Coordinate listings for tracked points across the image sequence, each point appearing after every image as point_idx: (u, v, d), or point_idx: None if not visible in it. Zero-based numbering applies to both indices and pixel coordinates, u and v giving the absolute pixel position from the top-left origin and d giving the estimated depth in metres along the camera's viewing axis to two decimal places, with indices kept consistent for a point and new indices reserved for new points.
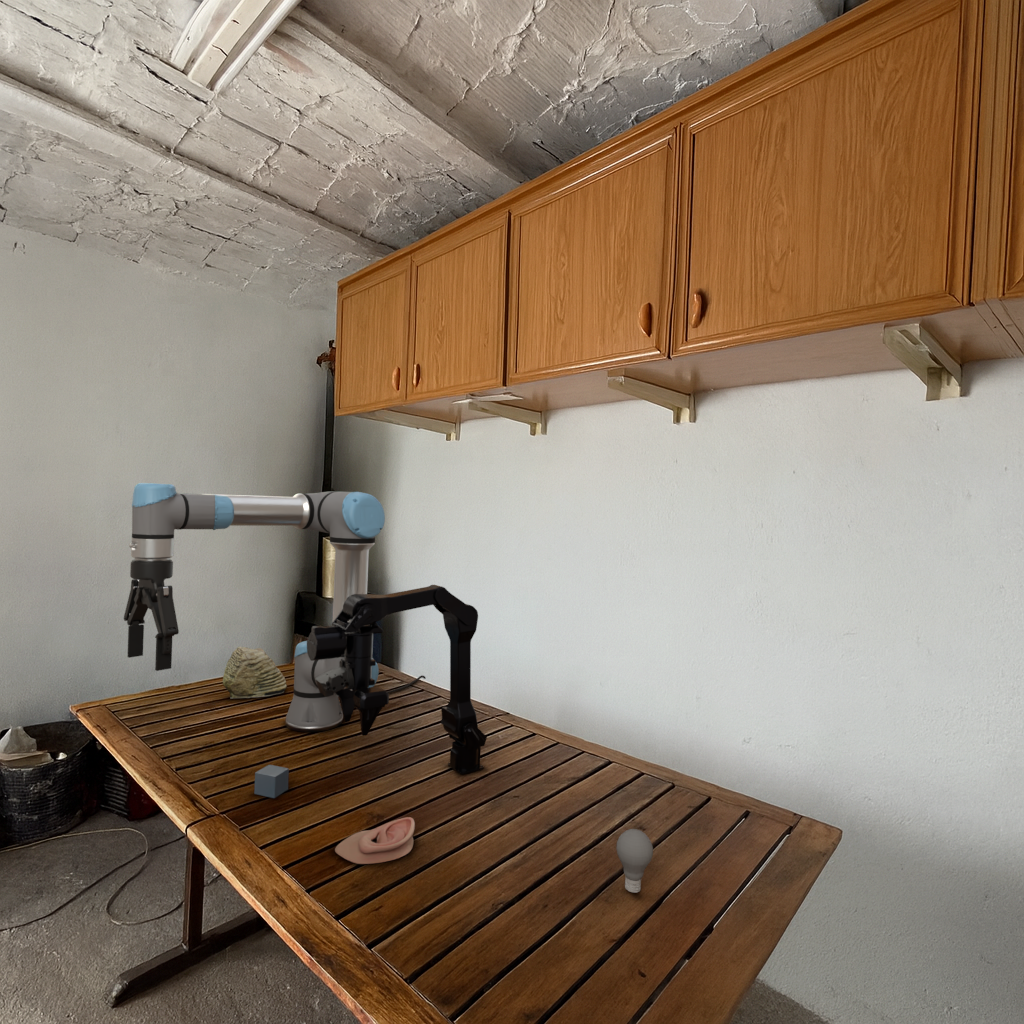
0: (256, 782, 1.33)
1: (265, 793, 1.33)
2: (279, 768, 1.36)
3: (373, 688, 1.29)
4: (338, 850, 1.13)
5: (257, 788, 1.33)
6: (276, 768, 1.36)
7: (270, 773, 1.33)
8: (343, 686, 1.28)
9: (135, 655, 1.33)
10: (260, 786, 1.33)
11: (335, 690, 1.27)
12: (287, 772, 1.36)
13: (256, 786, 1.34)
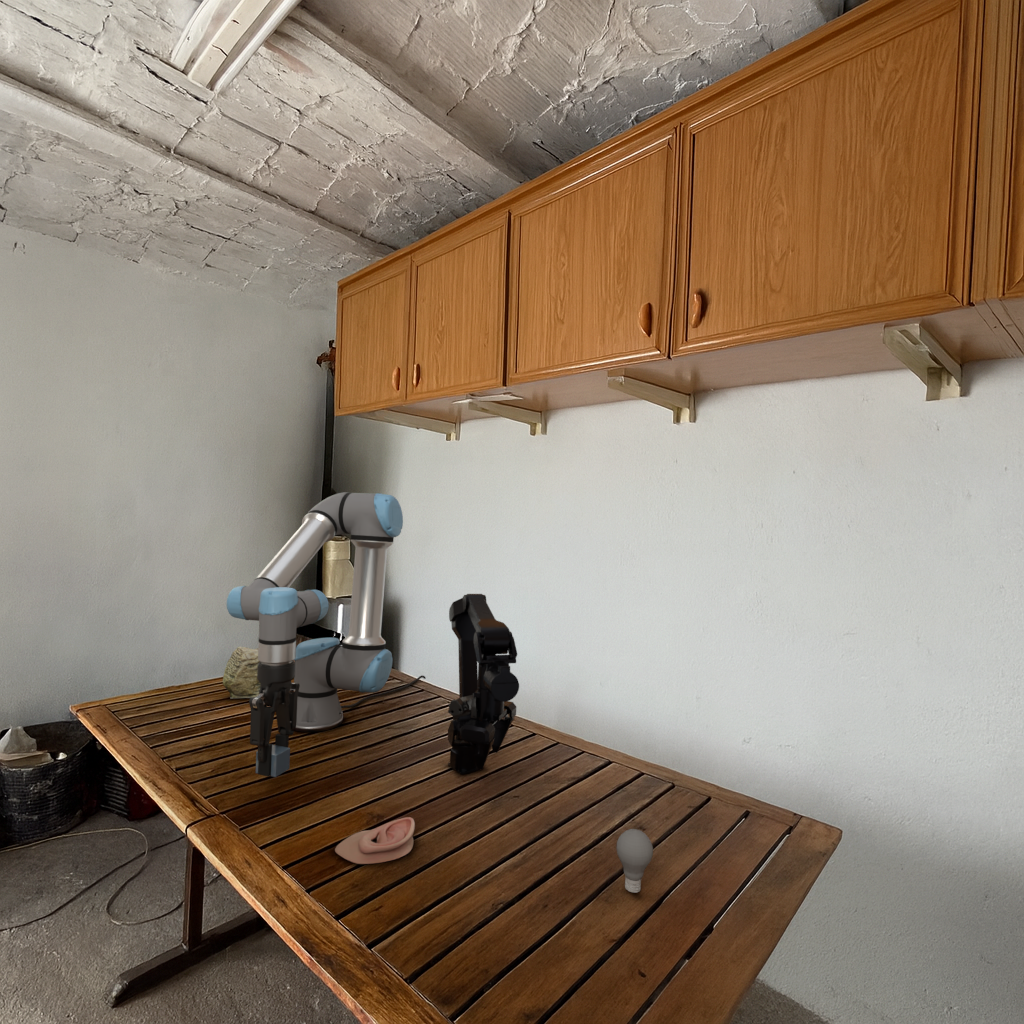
0: (257, 761, 1.33)
1: None
2: (280, 747, 1.36)
3: (482, 723, 1.26)
4: (338, 850, 1.13)
5: None
6: (277, 748, 1.36)
7: (272, 752, 1.33)
8: (461, 712, 1.30)
9: None
10: None
11: (453, 714, 1.30)
12: (288, 751, 1.36)
13: (257, 765, 1.34)
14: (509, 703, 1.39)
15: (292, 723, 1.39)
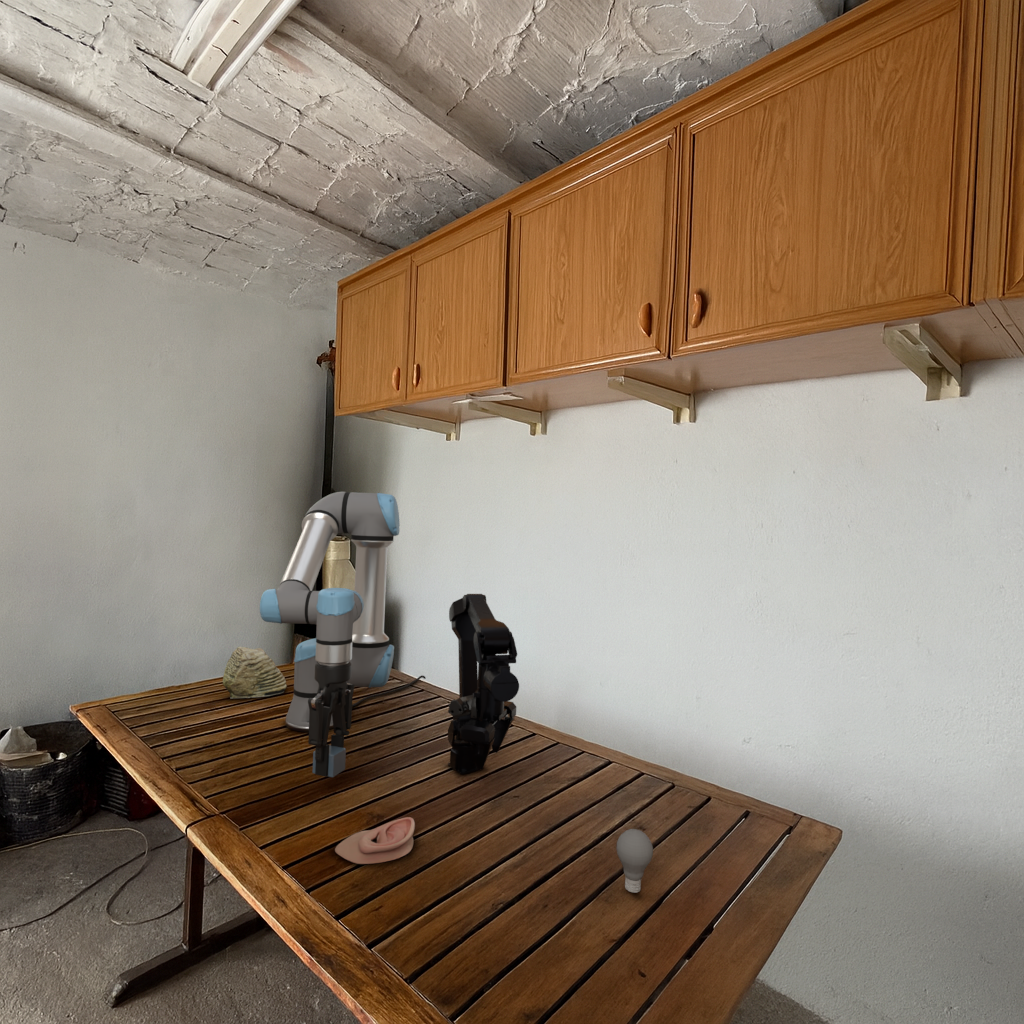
0: (314, 761, 1.34)
1: None
2: (336, 748, 1.36)
3: (482, 723, 1.26)
4: (338, 850, 1.13)
5: None
6: (333, 748, 1.36)
7: None
8: (461, 712, 1.30)
9: None
10: None
11: (453, 714, 1.30)
12: (344, 752, 1.36)
13: (314, 765, 1.34)
14: (509, 703, 1.39)
15: (347, 724, 1.39)
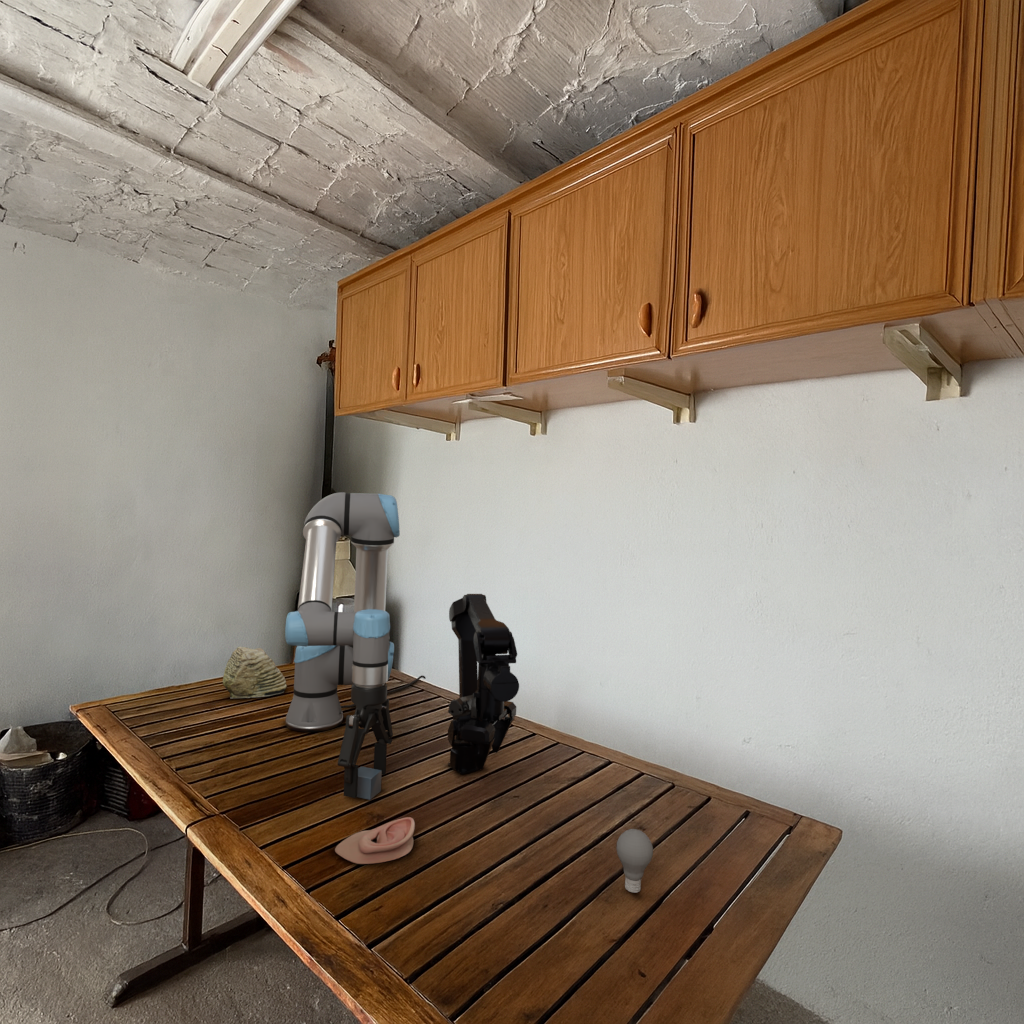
0: None
1: (360, 795, 1.34)
2: (372, 770, 1.37)
3: (482, 723, 1.26)
4: (338, 850, 1.13)
5: None
6: (369, 770, 1.37)
7: (365, 775, 1.35)
8: (461, 712, 1.30)
9: None
10: None
11: (453, 714, 1.30)
12: (380, 774, 1.37)
13: None
14: (509, 703, 1.39)
15: (389, 734, 1.43)
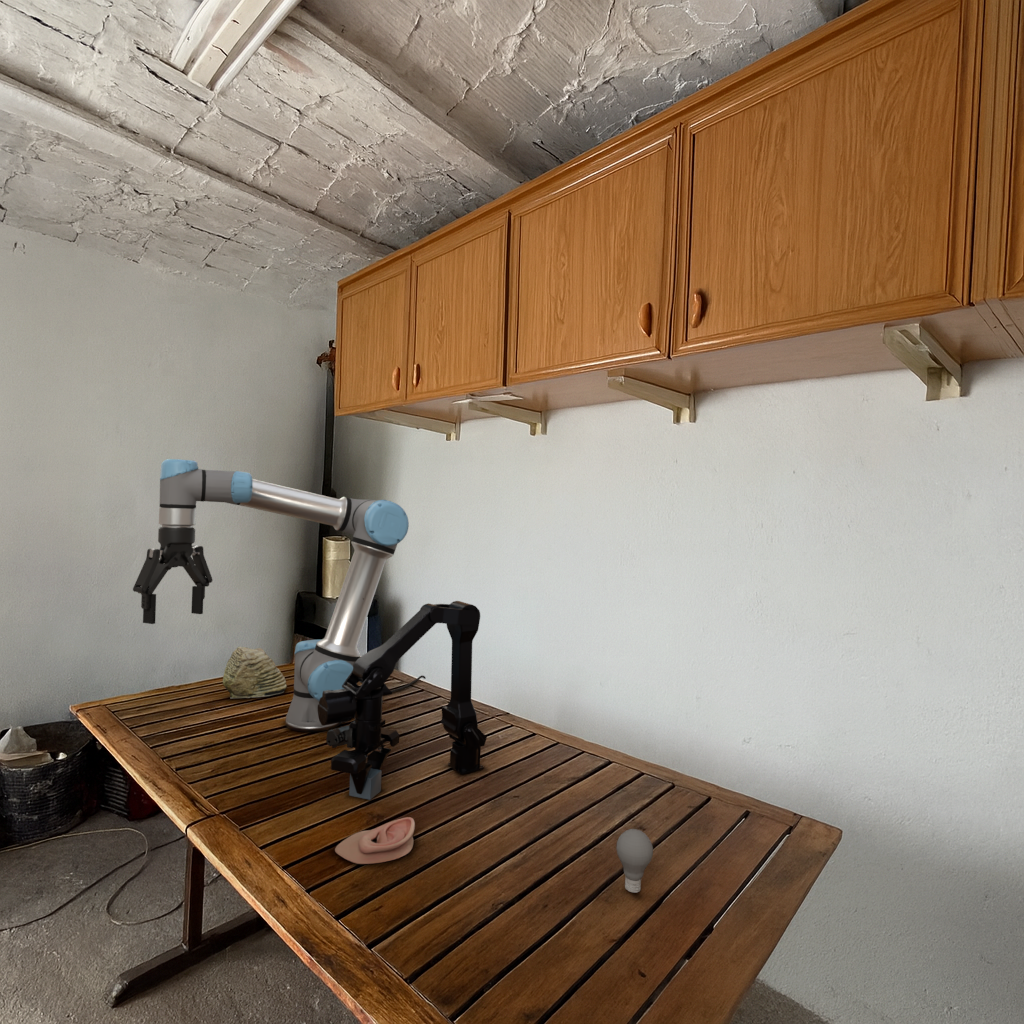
0: (351, 784, 1.35)
1: (360, 795, 1.34)
2: (372, 770, 1.37)
3: (354, 753, 1.30)
4: (338, 850, 1.13)
5: (352, 790, 1.35)
6: None
7: None
8: (336, 742, 1.33)
9: (195, 612, 1.52)
10: None
11: (330, 744, 1.34)
12: (380, 774, 1.37)
13: (351, 788, 1.35)
14: (392, 731, 1.43)
15: (207, 579, 1.54)
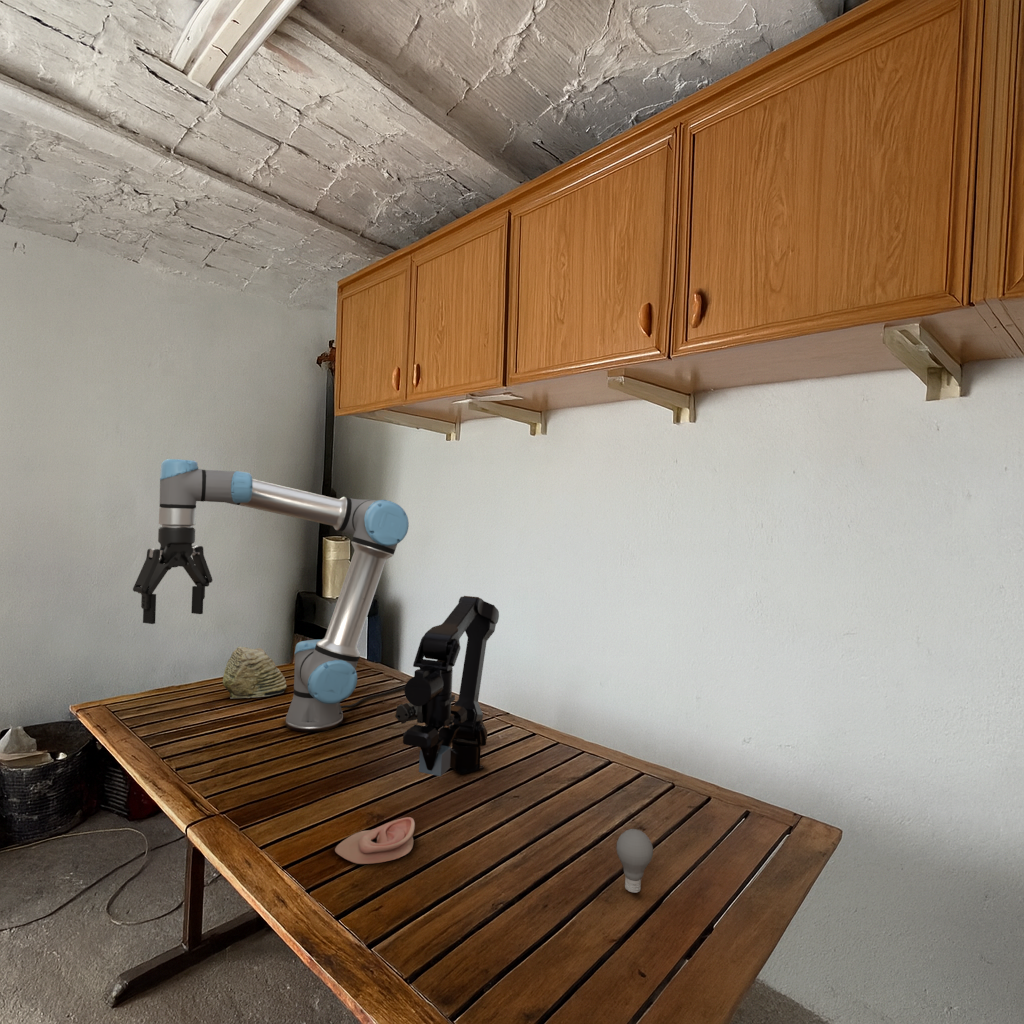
0: (421, 760, 1.32)
1: (431, 771, 1.31)
2: (441, 746, 1.34)
3: (426, 728, 1.27)
4: (338, 850, 1.13)
5: (422, 766, 1.32)
6: None
7: None
8: (407, 717, 1.31)
9: (195, 612, 1.52)
10: (425, 764, 1.32)
11: (399, 719, 1.31)
12: (449, 750, 1.34)
13: (421, 764, 1.32)
14: (459, 708, 1.40)
15: (207, 579, 1.54)
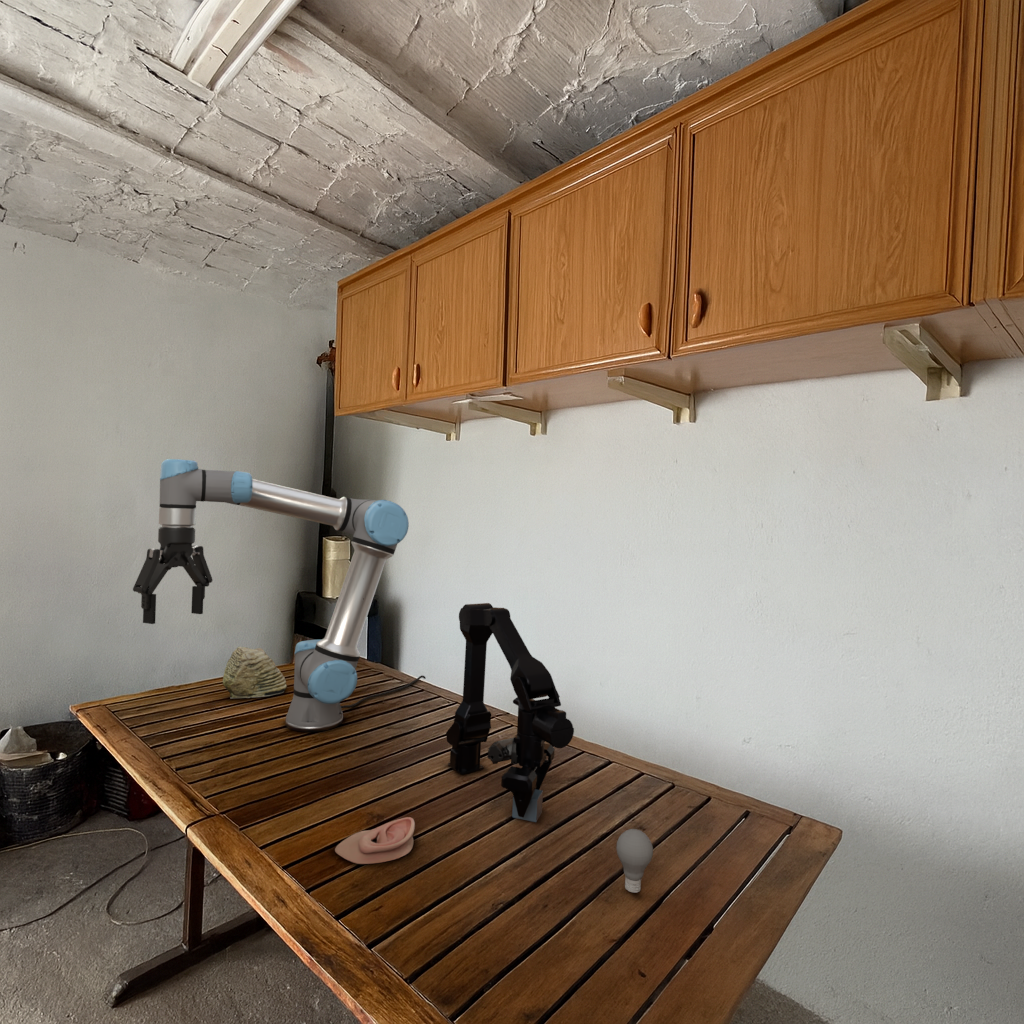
0: (514, 805, 1.28)
1: (525, 817, 1.28)
2: None
3: (524, 770, 1.23)
4: (338, 850, 1.13)
5: (516, 811, 1.28)
6: None
7: None
8: (501, 758, 1.27)
9: (195, 612, 1.52)
10: None
11: (493, 759, 1.28)
12: (542, 794, 1.31)
13: (514, 809, 1.28)
14: (547, 746, 1.36)
15: (207, 579, 1.54)
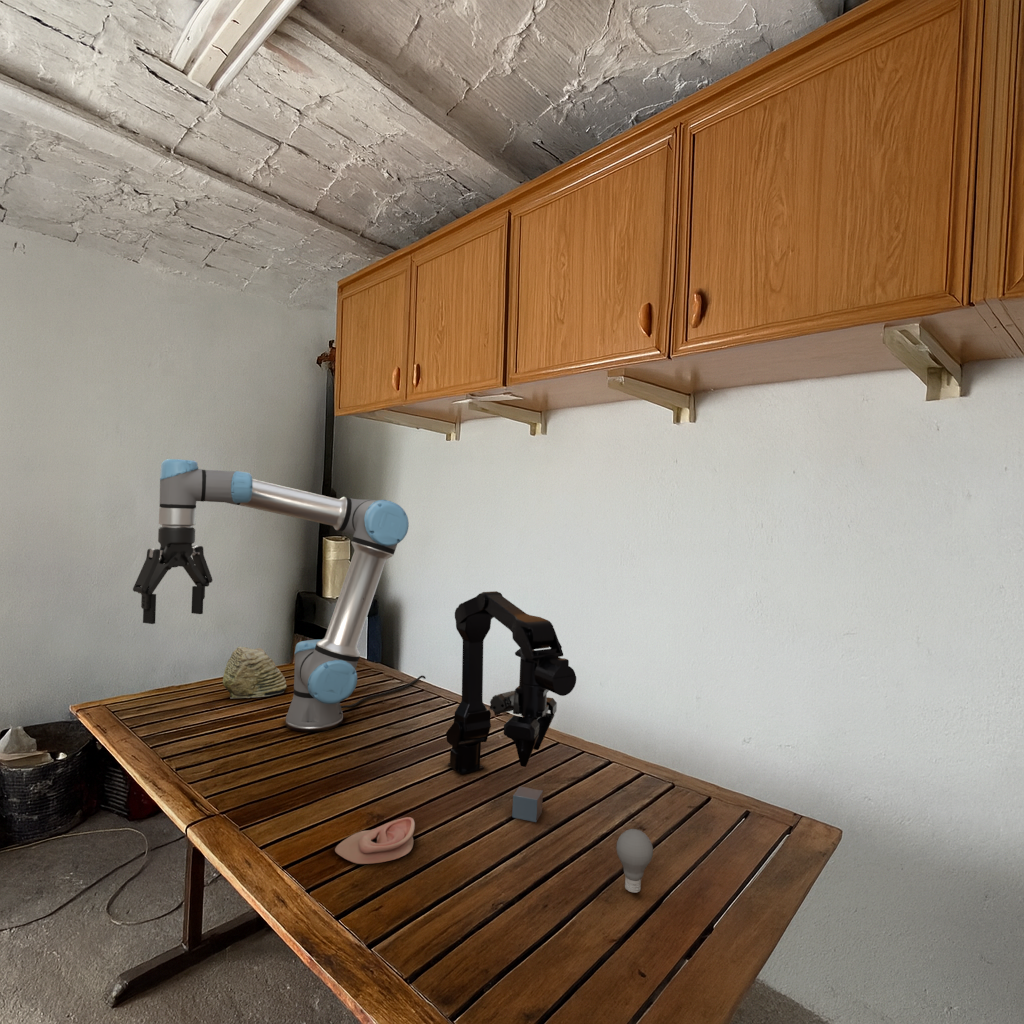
0: (514, 805, 1.28)
1: (525, 817, 1.28)
2: (533, 790, 1.31)
3: (526, 719, 1.23)
4: (338, 850, 1.13)
5: (516, 811, 1.28)
6: (530, 790, 1.31)
7: (530, 796, 1.28)
8: (503, 708, 1.27)
9: (195, 612, 1.52)
10: (519, 809, 1.28)
11: (495, 710, 1.27)
12: (542, 794, 1.31)
13: (514, 809, 1.28)
14: (550, 699, 1.36)
15: (207, 579, 1.54)
